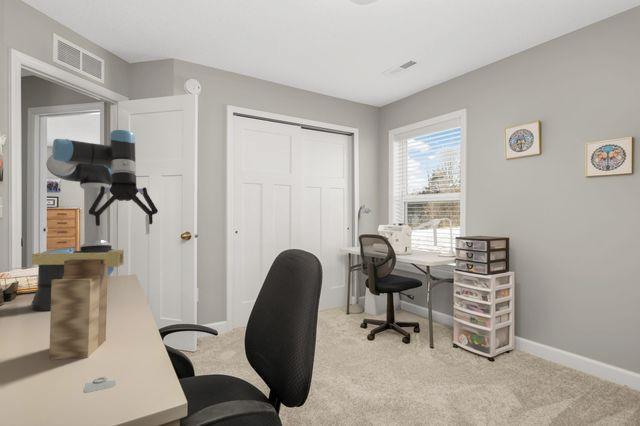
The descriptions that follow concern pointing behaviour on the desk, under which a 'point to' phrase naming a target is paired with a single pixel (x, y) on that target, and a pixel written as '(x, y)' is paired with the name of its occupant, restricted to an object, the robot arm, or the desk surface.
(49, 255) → the golden wooden bar
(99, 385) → the mounting bracket
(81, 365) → the desk surface
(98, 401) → the desk surface
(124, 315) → the desk surface
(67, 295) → the hinge block
